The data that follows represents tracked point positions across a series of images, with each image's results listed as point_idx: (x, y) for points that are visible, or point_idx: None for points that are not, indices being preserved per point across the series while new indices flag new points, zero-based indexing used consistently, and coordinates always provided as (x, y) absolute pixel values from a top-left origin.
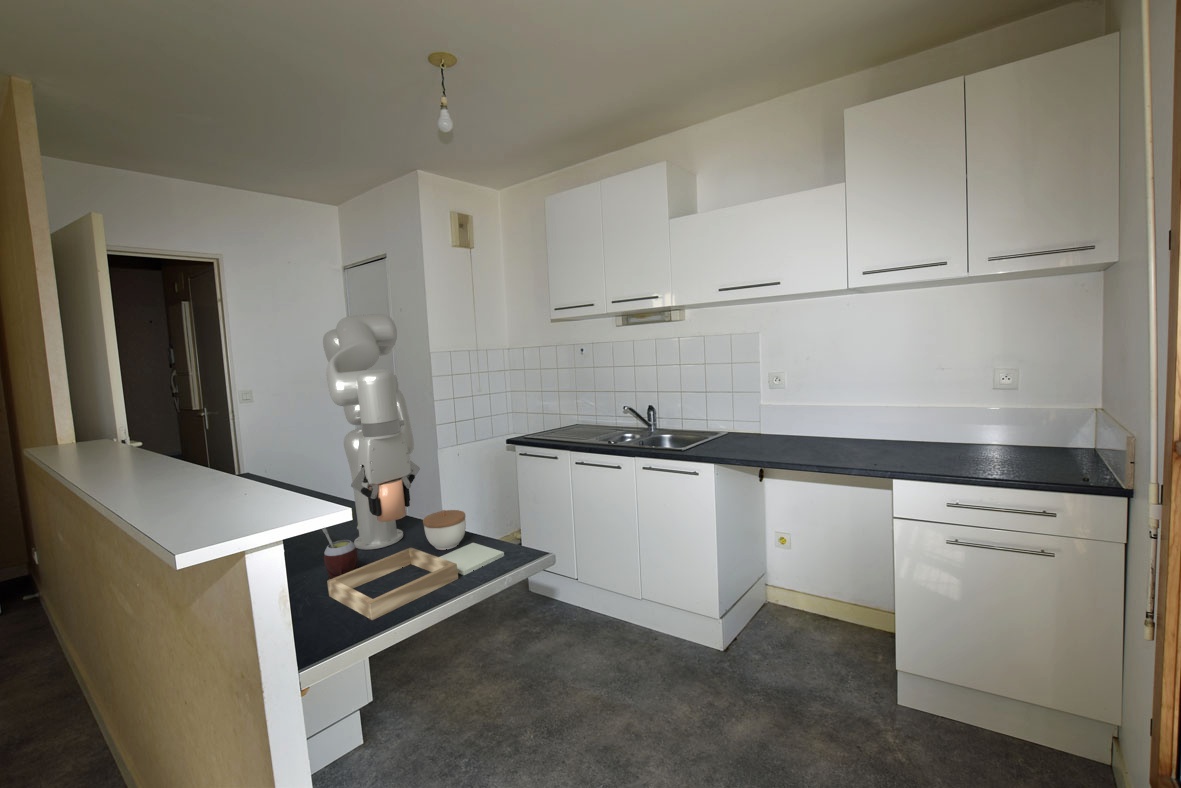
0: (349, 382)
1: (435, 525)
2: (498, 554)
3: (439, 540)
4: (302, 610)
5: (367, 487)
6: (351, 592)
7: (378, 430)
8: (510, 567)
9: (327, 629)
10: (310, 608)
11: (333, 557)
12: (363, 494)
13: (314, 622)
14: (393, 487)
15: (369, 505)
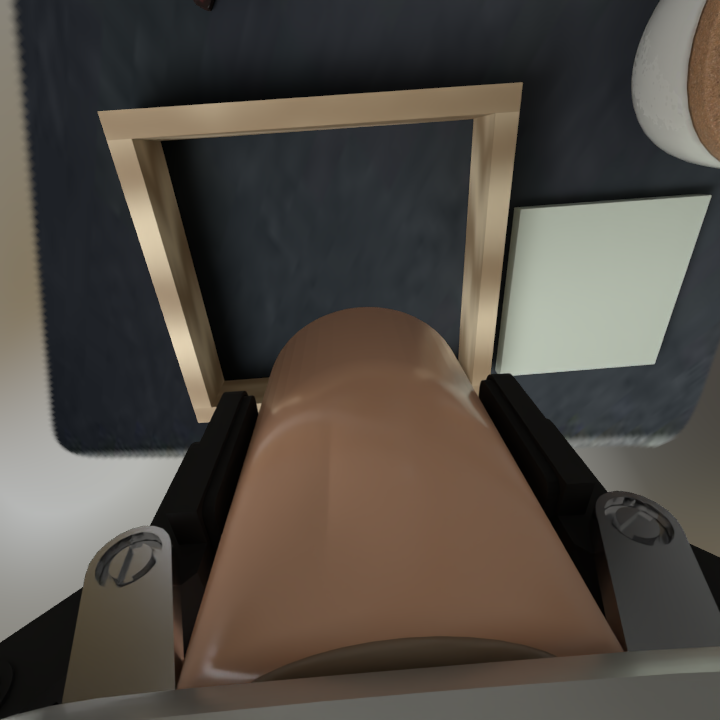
0: None
1: (700, 113)
2: (633, 365)
3: (644, 124)
4: (32, 152)
5: (77, 692)
6: (167, 315)
7: None
8: (583, 424)
9: (105, 348)
10: (60, 163)
11: None
12: (51, 619)
13: (72, 280)
14: None
15: (177, 486)
